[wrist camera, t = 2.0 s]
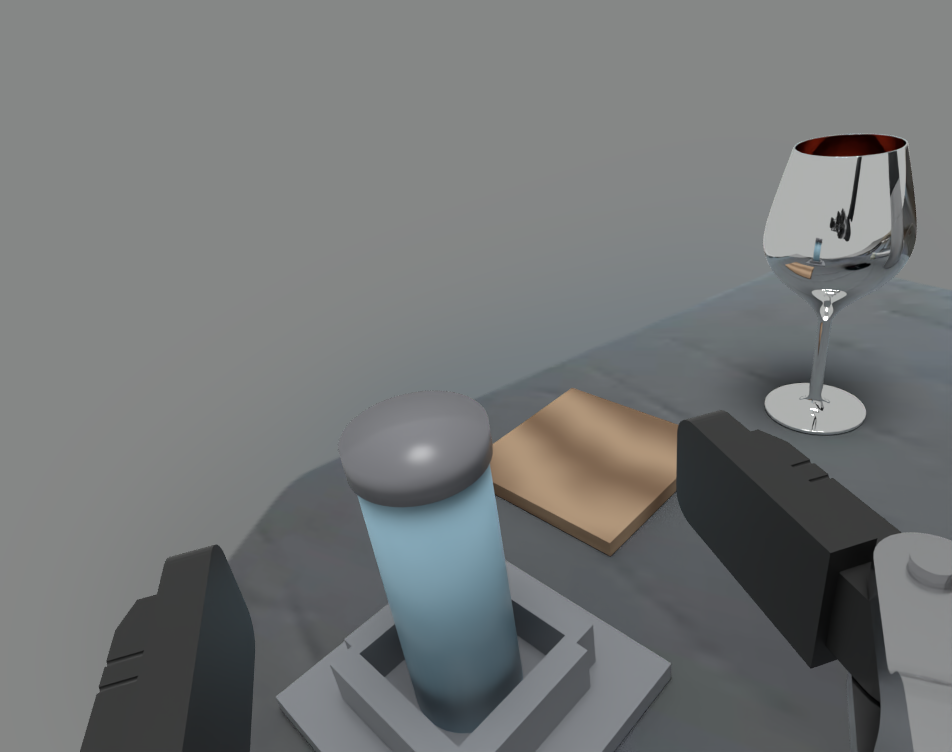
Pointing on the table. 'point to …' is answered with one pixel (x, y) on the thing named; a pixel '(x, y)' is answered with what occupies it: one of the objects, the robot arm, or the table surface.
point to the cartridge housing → (517, 717)
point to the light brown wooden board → (588, 467)
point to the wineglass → (837, 252)
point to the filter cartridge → (438, 548)
